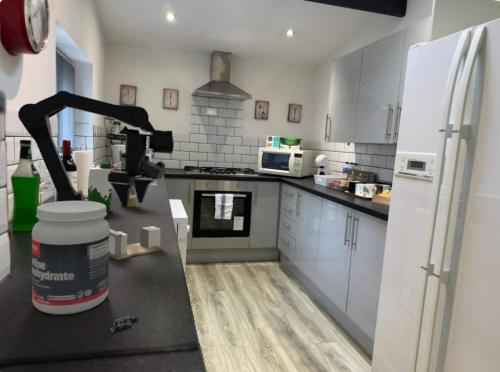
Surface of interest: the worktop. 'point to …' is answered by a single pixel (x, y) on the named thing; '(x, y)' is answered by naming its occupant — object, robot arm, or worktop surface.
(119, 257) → the board
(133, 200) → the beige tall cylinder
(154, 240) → the stub
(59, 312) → the supplement tub
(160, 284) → the worktop surface
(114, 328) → the dark grey lumpy piece
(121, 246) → the bracketed cream block
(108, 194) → the milk carton
